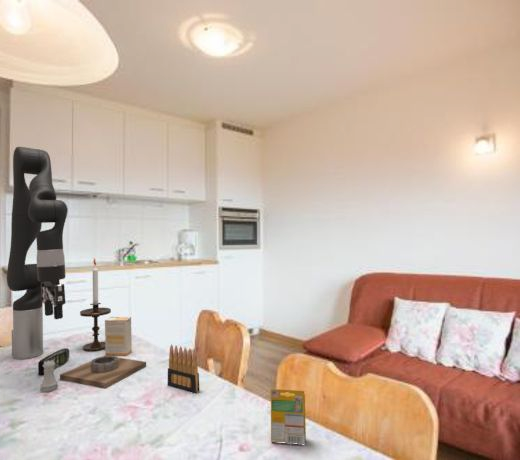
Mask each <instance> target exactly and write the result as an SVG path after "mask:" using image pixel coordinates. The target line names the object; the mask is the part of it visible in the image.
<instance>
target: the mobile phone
mask: <svg viewBox="0 0 520 460" xmlns="http://www.w3.org/2000/svg"><path fill="white" fill-rule="evenodd" d="M69 358H70V349H69V348H65V347H64V348H61V349H59V350H56V351H54V352H53V353H51V354H48V355H47V356H45V357H43V358H41V359H40V360H39V361H38V364H37V373H38V376H44V367H43V364H44V362H45V361H46V362H47V360H49V362H51V360H54V363H55V365H54V370H56V369H57V368H60V367H62V366H64V365H65V364H67V362H68V361H69Z"/></svg>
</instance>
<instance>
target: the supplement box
mask: <svg viewBox="0 0 520 460" xmlns="http://www.w3.org/2000/svg"><path fill="white" fill-rule="evenodd" d="M104 337H105V339H104V342H105V349H104V350H105V356H128V355H129V354H130V353H131V352H132V351H133V348H132V347H133V344H132V342H133V341H132V338H133V337H132V317H131V316H110V317H107V318H106V319H104Z"/></svg>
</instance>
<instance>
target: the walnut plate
mask: <svg viewBox="0 0 520 460" xmlns="http://www.w3.org/2000/svg"><path fill="white" fill-rule="evenodd" d="M103 356H106V354H105V355H102V356H101V357H103ZM118 358H119V366H118V368H117V369H115V370H113V371H110V372H105V373H95V372H92V371H91V361H92V360H91V361H88V362H86V363H84V364H81V365H78V366H77V367H74V368H72V369H70V370H67V371H65V372H63V373H60V374H59V380H61V381H66V382H70V383H76V384H81V385H86V386H91V387H97V388H101V389H107V388H109V387H111V386H112V385H114V384H116V383H119V382H120V381H121V380H124V379H125V378H128V377H129V376H132V375H134V373H137V372H138V371H140V370H142V369H144V368H146V367H147V361H145V360H144V361H143V360H137V359H132V358H131V359H130V358H122V357H118Z"/></svg>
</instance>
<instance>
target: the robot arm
mask: <svg viewBox="0 0 520 460" xmlns="http://www.w3.org/2000/svg"><path fill="white" fill-rule="evenodd" d="M25 174H26V175H27V174H28V175H35V176H33V177H32V179H31V181H30V182H29V185H27V181H26V178H25ZM12 176H13V177H12V178H13V179H12V180H13V192H12V193H13V195H12V209H11V222H10V225H11V230H10V231H11V233H10V235H11V236H10V249H9V256H8V264H7V270H6V284H7V287H8V288H9V289H10V291H12V292H21V291H25V293H24V294H23V295H22V296H21V297H19V298H17V299H16V300H14V301H13V303H12V330H11V357H13V358H14V359H16V360H24V359H25V360H27V359H32V358H36V357H38V356H40V355H43V354H44V316H46V317H49V316H53V317H54V318H53V319H54V320H59V319H60V320H61V319H63V317H64V315H63V314H64V313H63V311H64V310H63V306H64V305H65V304H66V293H65V291H66V290H65V284H64V283H61V282H60V280H64V279H66V264H65V263H66V260H65V259H66V258H65V253H64V241H63V238H64V237H63V235H64V234H63V233H64V227H65V223H66V221H67V217H68V213H69V212H68V206H67V204H66V203H65V201H63V200H60V199H57V193H56V190H55V187H54V185H53V175H52V163H51V157H50V155H49V153H48V152H47V151H46V150H43V149H38V148H33V147H31V148H30V147H26V146H16V147H15V149H14V150H13V156H12ZM45 223H46V224H47V223H51V224H52V223H54V225H53V227H52V228H49V229H46V230H42V225H43V224H45ZM35 240H36V250H37V251H36V263H28V264H27V263H26V259H27V254H28V252H29V250H30V248H31V246H32V245H33V243H34V242H35ZM43 304H44V305H43ZM43 306H44V309H43ZM43 310H44V313H43ZM43 314H44V315H43Z"/></svg>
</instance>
